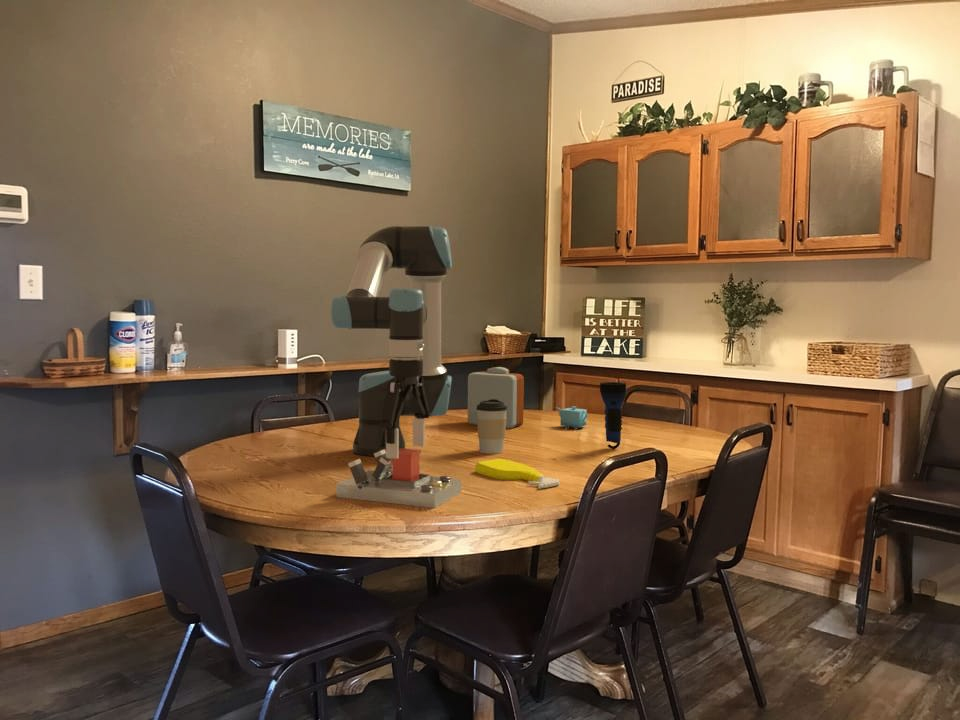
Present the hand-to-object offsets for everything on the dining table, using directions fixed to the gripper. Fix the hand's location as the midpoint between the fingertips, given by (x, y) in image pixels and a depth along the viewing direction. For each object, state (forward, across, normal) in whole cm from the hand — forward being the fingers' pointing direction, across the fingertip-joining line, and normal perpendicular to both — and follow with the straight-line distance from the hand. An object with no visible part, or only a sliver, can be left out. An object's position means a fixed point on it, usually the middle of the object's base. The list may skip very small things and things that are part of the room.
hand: (406, 451), depth 176 cm
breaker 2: (+7, +6, +7) cm, 12 cm away
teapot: (+12, +107, -12) cm, 109 cm away
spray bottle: (+11, +26, -19) cm, 34 cm away
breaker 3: (+7, 0, +7) cm, 10 cm away
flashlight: (+11, +73, -33) cm, 81 cm away
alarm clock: (+12, +101, +14) cm, 103 cm away
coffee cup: (+11, +55, -1) cm, 56 cm away
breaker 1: (+7, -6, +7) cm, 12 cm away
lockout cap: (+7, 0, 0) cm, 7 cm away
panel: (+10, -1, +1) cm, 10 cm away
